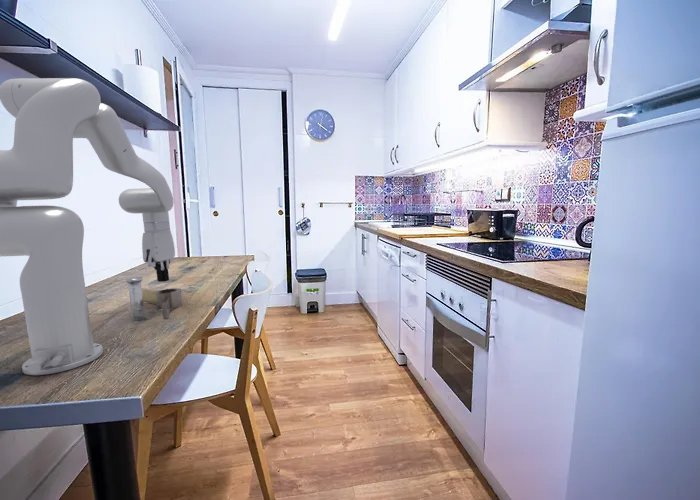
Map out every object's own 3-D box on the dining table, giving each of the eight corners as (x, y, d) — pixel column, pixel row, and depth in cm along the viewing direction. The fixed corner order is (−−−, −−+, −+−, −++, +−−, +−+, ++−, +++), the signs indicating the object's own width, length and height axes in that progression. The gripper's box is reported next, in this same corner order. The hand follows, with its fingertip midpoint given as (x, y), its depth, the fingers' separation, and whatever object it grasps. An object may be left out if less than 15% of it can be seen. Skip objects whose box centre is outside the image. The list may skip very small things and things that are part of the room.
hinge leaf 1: (164, 304, 107) (162, 291, 107) (161, 305, 106) (159, 291, 106) (144, 301, 112) (142, 288, 112) (141, 301, 111) (139, 288, 111)
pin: (145, 320, 92) (140, 278, 91) (129, 322, 91) (124, 280, 89) (147, 316, 96) (143, 276, 94) (132, 318, 94) (127, 277, 93)
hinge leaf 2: (179, 316, 94) (177, 299, 94) (151, 320, 92) (149, 303, 91) (183, 302, 110) (181, 287, 109) (159, 304, 107) (158, 289, 106)
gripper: (162, 225, 118) (168, 275, 121) (129, 229, 104) (136, 286, 106) (181, 225, 117) (187, 276, 120) (150, 229, 102) (157, 286, 105)
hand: (163, 280), depth 113 cm, fingers closed
